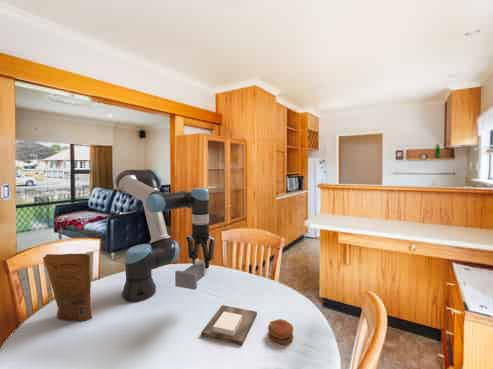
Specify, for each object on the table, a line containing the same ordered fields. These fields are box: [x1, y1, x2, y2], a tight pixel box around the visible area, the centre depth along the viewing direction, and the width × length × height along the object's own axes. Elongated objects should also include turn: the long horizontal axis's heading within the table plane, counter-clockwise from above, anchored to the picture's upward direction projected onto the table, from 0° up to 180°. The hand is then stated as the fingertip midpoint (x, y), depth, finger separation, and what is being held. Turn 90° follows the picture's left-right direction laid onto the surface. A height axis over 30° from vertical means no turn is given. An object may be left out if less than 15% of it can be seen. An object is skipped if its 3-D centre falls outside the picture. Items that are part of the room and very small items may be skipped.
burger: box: [267, 318, 294, 346], centre depth 92 cm, size 10×9×5 cm
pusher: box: [174, 259, 205, 290], centre depth 107 cm, size 9×16×6 cm, turn 162°
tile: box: [213, 312, 242, 336], centre depth 96 cm, size 8×2×10 cm
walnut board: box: [200, 304, 258, 346], centre depth 99 cm, size 16×19×2 cm
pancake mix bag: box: [42, 253, 93, 323], centre depth 102 cm, size 7×19×28 cm, turn 82°
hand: (201, 274), depth 112 cm, fingers closed on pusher, 3 cm apart
